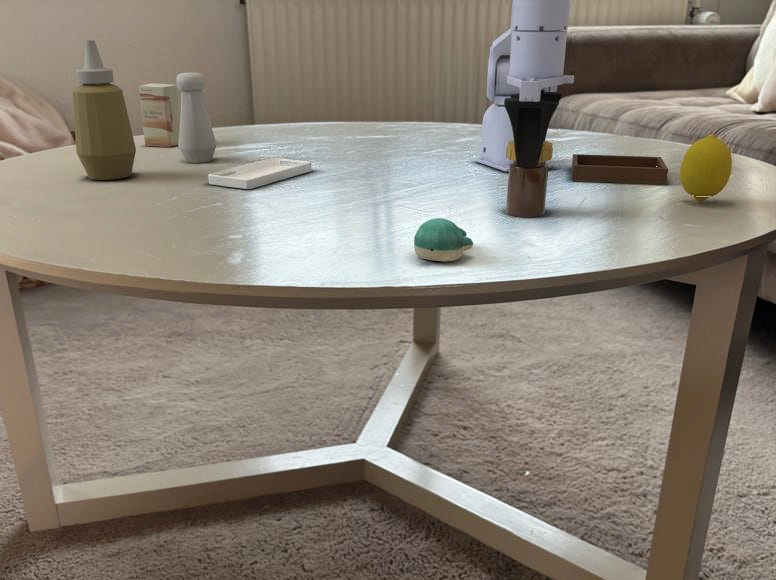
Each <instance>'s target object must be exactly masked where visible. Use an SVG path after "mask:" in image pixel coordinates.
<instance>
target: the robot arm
mask: <svg viewBox="0 0 776 580" xmlns="http://www.w3.org/2000/svg"><path fill="white" fill-rule="evenodd" d="M570 7H571V0H512V1H511V14H510V16H511V17H510V28H509V29H507V30H506V31H505V32H503V34H500V35H499V37H497V38H496V39H495V40H493V42H492V43H491V46H490V47H489V57H488V62H487V79H486V97H487V98H488V100H489V101H491V102H493V103H492V104H491V105H490V106H488V107H487V109H486V110H485V112H484V115H483V117H482V126H481V141H480V142H481V144H480V157H476V158H474V159H475V160H474V161H475V162H476V163H479V164H483V165H485V166H487V167H491V168H493V169H498V170H499V171H503V172H505V173H506V172H508V173H509V164H510V163H512V162H513V161H512V160H509V159H507V158H506V150H507V147H508V142H509V141H514V147H515V157H516V163H517V167H529V168H536V167H537V164H538V161H539V158H540V155H541V151H542V146H543V142H544V141H546V138H547V134H548V130H549V126H550V123H551V119H552V117H553V115H554V114H555V112H556V110H557V108H558V107H559V105H560V101H561V99H562V97H563V93H562V92H561V91H558V86H561V85H564V84H574V82H575V75H573V74H572V75H571V74H564V69H565V60H566V59H565V58H566V48H567V47H566V46H567V38H568V28H569V20H570V19H569V18H570V9H571V8H570ZM507 53H508V54H507ZM509 53H510V54H509ZM546 164H548V165H549V169H552V168H553V164H552V163H548V162H546Z"/></svg>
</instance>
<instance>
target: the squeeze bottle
mask: <svg viewBox="0 0 776 580" xmlns="http://www.w3.org/2000/svg"><path fill="white" fill-rule="evenodd" d="M84 41H85V43H84V58H83V59H84V60H83V68H81V69H77V70H76V77H77V83H78V84H80V85H78V86H76V87H74V89H73V90H72V105H73V120H74V134H75V135H74V136H75V152H76V155H77V157H78V159H79V161H80V163H81V165H82V167H83V169H84V171H85V173H86V175H87V176H88V178H89V179H92V180H98V181H114V180H115V181H116V180H121V179H124V178H127V177H130V176H131V175H132V173H133V169H134V162H135V159H136V158H135V157H136V152H137V148H136V143H135V139H134V136H133V135H134V134H133V131H132V127H131V126H132V125H131V122H130V117H129V114H128V109H127V105H126V101H125V97H124V92H123V89H122V88H121V87H119V86H118V85H116V84H114V83H113V82H115V79H114V73H113V69H112V68H105V66H104V63H103V60H102V57H101V54H100V51H99V48H98V46H97V43H96V41H95V39H90V40H88V39H87V40H84Z"/></svg>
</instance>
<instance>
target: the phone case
mask: <svg viewBox="0 0 776 580" xmlns="http://www.w3.org/2000/svg"><path fill="white" fill-rule="evenodd" d="M282 162H291V163H301V164H297V165H294V166H293V165H286V164H285V165H284V164H281V163H282ZM312 165H313V164H312V161H308V160H300V159H289V158H282V157H281V158H278V157H271V158H267V159H262V160H258V161H255V162H250V163H247V164H246V163H245V164H243V165H239V166H235V167H231V168H227V169H223V170H219V171H215V172H212V173H209V174H208V175H207V178H208V184H209V185H213V186H220V187H226V188H227V187H229V188H235V189H236V188H237V189H243V190H251V189H255V188H260V187H262V186H265V185H269V184H272V183H276V182H279V181H283V180H285V179H290V178H293V177H296V176H299V175H302V174H307V173H310V172H312V171H313V167H312ZM232 172H234V173H232ZM228 173H232V174H228ZM223 174H228V175H223Z"/></svg>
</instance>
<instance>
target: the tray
mask: <svg viewBox="0 0 776 580" xmlns="http://www.w3.org/2000/svg"><path fill="white" fill-rule="evenodd" d="M656 166H657V167H656ZM668 174H669V168H668V166H667V165H666V163H665V161H664V160H663V158H662V157H661V156H646V155H645V156H641V155H640V156H639V155H614V154H613V155H612V154H586V153H585V154H583V153H581V154H580V153H579V154H578V153H573V154H572V160H571V182H582V183H583V182H585V183H586V182H587V183H609V184H632V185H633V184H634V185H635V184H636V185H656V186H657V185H660V186H666V185H667V180H668Z"/></svg>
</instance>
